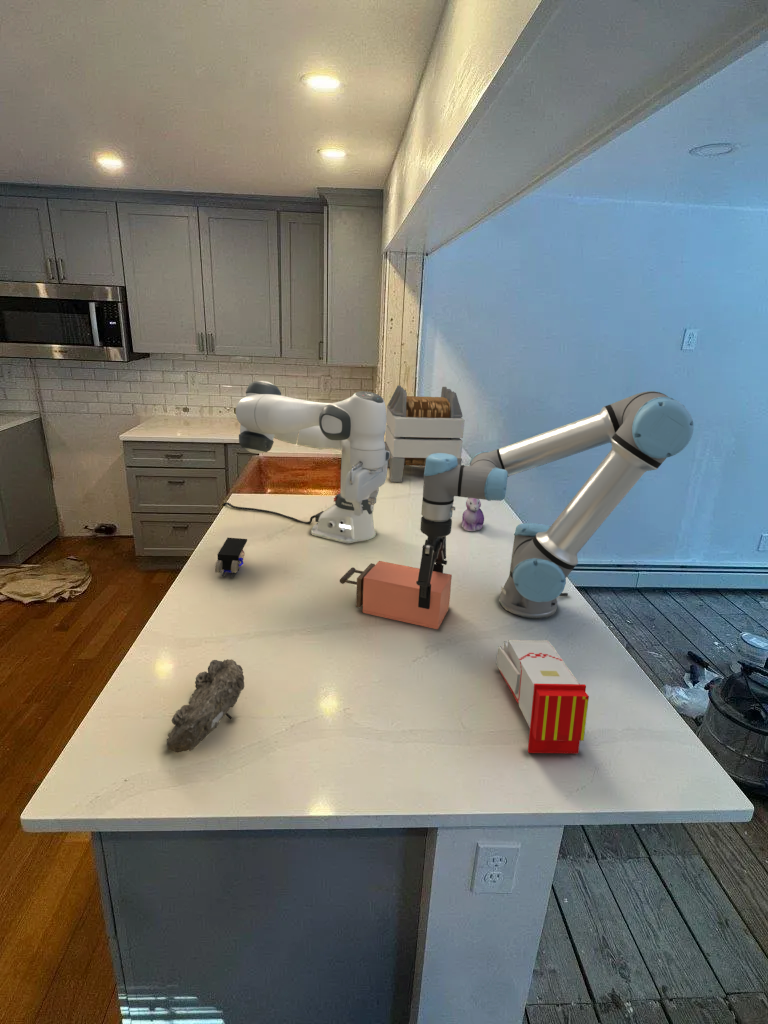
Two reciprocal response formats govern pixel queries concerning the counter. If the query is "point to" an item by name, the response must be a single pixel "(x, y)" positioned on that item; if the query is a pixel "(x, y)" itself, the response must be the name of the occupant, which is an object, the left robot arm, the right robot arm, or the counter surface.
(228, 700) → the fossil
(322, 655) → the counter surface
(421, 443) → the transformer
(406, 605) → the cabinet
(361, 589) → the drawer
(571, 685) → the toy
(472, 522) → the figurine
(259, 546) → the counter surface
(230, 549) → the figurine character
